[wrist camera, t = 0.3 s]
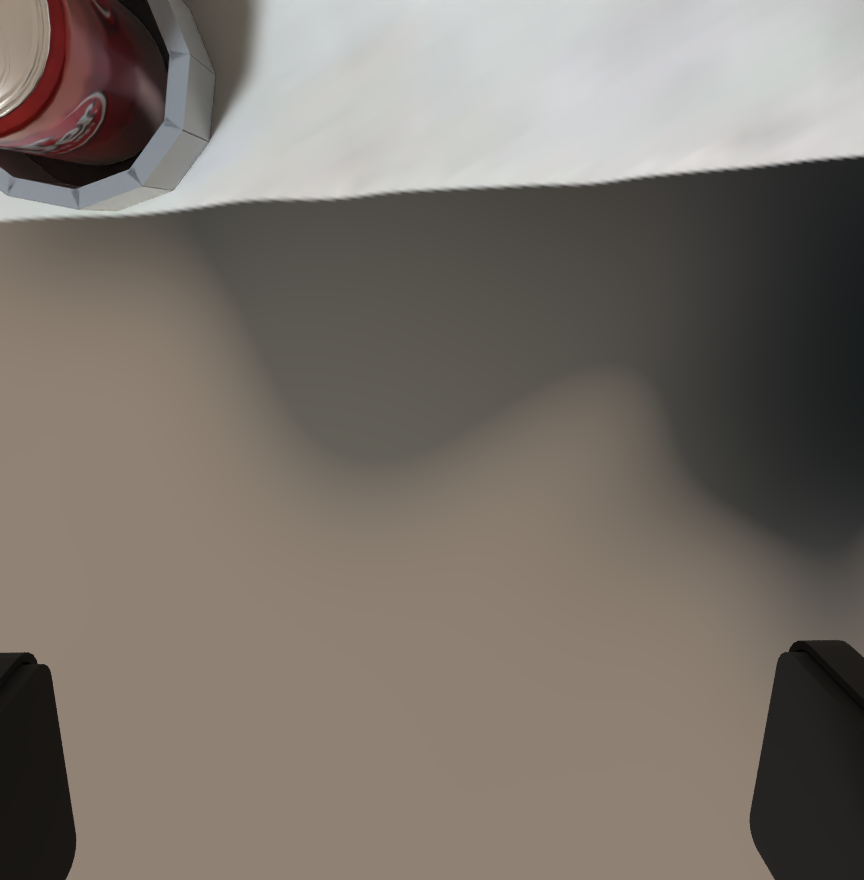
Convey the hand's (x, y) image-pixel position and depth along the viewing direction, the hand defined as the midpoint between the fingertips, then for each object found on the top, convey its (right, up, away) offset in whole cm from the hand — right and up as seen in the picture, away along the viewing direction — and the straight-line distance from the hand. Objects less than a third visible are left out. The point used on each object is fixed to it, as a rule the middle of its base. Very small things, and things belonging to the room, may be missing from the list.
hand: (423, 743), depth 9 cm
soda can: (-16, +21, +24) cm, 36 cm away
